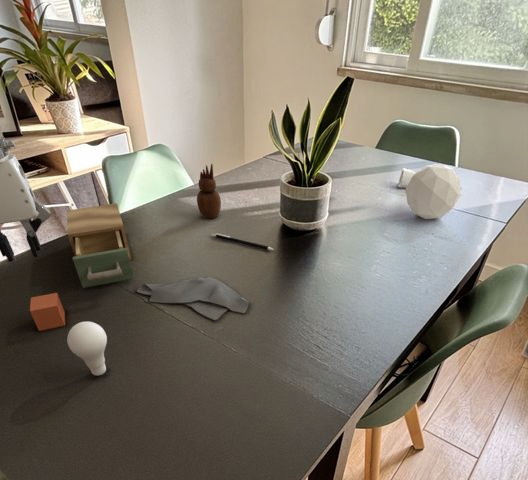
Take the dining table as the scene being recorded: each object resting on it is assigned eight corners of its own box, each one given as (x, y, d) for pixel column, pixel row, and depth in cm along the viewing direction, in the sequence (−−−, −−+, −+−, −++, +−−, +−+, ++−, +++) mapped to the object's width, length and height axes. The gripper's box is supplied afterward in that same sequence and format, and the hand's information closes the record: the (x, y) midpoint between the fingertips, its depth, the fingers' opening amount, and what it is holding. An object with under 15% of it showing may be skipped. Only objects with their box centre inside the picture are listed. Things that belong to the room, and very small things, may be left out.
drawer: (136, 289, 95) (129, 260, 91) (83, 299, 93) (73, 270, 88) (127, 252, 109) (120, 225, 104) (80, 260, 106) (71, 232, 101)
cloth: (262, 293, 95) (262, 285, 93) (231, 327, 86) (230, 318, 84) (168, 267, 104) (167, 259, 103) (131, 295, 95) (128, 287, 94)
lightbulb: (80, 367, 78) (61, 319, 70) (115, 358, 79) (99, 310, 72) (83, 390, 73) (63, 341, 66) (120, 379, 75) (103, 331, 68)
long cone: (458, 200, 137) (398, 189, 139) (456, 194, 142) (397, 184, 144) (465, 182, 134) (403, 171, 136) (462, 177, 139) (403, 166, 141)
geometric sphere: (428, 238, 125) (436, 211, 111) (393, 206, 130) (396, 175, 116) (466, 207, 125) (479, 175, 110) (429, 175, 129) (437, 141, 115)
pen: (212, 235, 117) (212, 231, 116) (275, 250, 110) (275, 246, 109) (211, 236, 116) (210, 233, 115) (273, 252, 109) (273, 248, 108)
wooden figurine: (225, 214, 127) (221, 162, 117) (214, 222, 123) (209, 168, 113) (207, 210, 130) (201, 158, 120) (195, 217, 126) (188, 164, 116)
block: (38, 331, 86) (29, 311, 83) (39, 317, 89) (30, 297, 86) (65, 325, 87) (56, 305, 84) (64, 312, 91) (56, 292, 87)
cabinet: (131, 259, 107) (123, 225, 101) (79, 269, 104) (67, 234, 98) (125, 235, 118) (117, 203, 112) (77, 243, 115) (66, 210, 109)
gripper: (37, 138, 71) (71, 239, 83) (-77, 150, 67) (-23, 255, 79) (35, 151, 66) (72, 257, 78) (-88, 164, 62) (-29, 274, 74)
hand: (23, 255), depth 78 cm, fingers open, 3 cm apart
